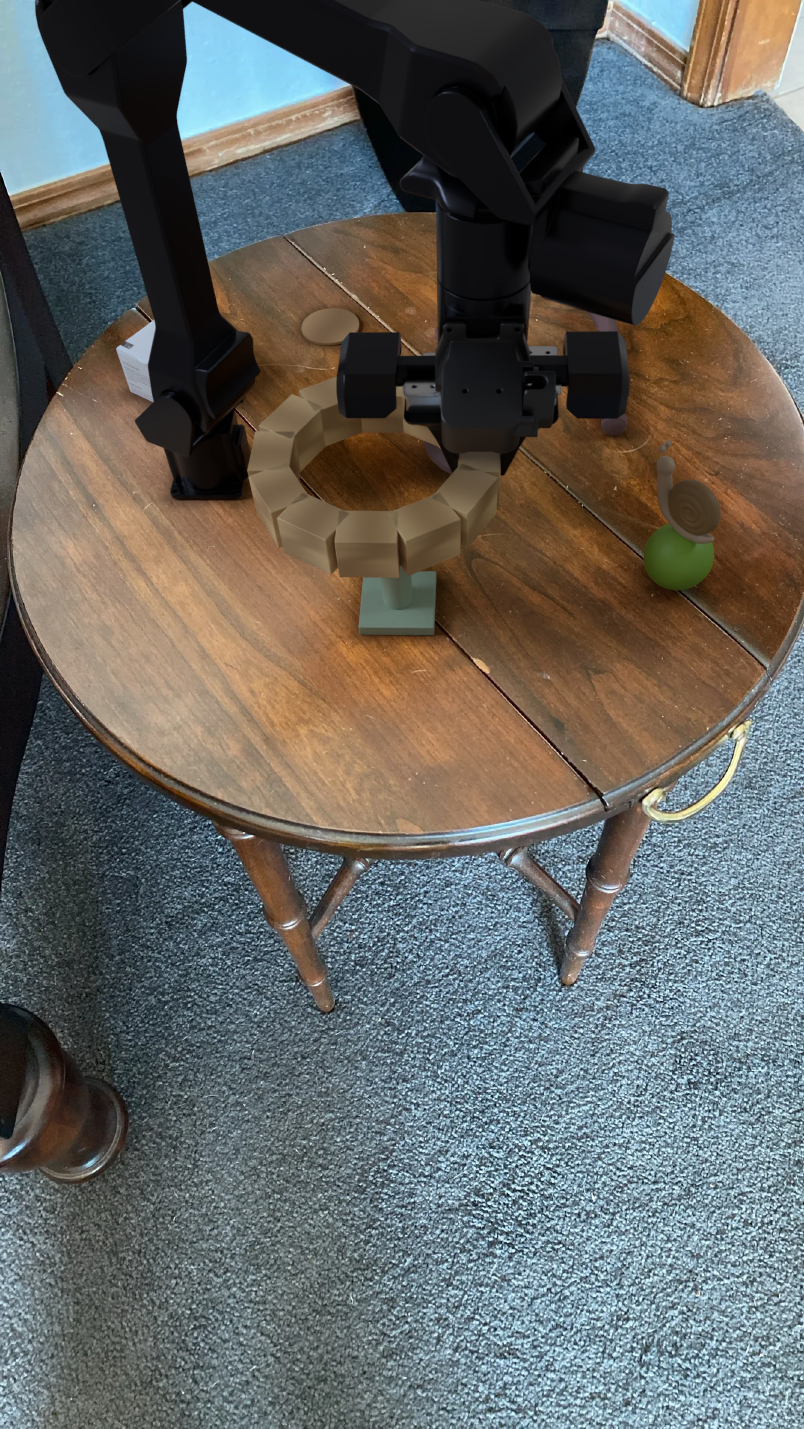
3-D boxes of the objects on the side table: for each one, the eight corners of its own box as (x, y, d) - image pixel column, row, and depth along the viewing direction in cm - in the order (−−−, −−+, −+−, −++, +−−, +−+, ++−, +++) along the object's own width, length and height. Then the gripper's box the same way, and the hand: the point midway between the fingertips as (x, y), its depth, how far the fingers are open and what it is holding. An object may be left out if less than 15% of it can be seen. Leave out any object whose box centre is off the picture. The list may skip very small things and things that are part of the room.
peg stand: (359, 635, 78) (351, 576, 72) (364, 578, 81) (357, 518, 75) (434, 635, 77) (432, 576, 72) (436, 579, 81) (434, 518, 75)
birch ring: (241, 576, 68) (232, 541, 65) (274, 407, 78) (267, 371, 75) (498, 579, 67) (501, 543, 64) (498, 407, 77) (500, 370, 74)
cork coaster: (298, 345, 99) (298, 343, 99) (305, 310, 103) (304, 308, 102) (357, 345, 99) (357, 342, 99) (361, 309, 102) (361, 307, 102)
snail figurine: (659, 538, 82) (686, 424, 72) (720, 579, 79) (757, 466, 69) (615, 571, 80) (637, 459, 70) (676, 615, 77) (708, 504, 67)
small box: (238, 376, 97) (228, 331, 93) (185, 420, 94) (172, 375, 89) (181, 350, 100) (169, 305, 95) (128, 392, 96) (112, 347, 92)
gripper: (315, 357, 54) (341, 552, 67) (655, 357, 53) (615, 555, 66) (334, 244, 60) (354, 442, 73) (638, 241, 59) (605, 443, 72)
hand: (478, 471), depth 71 cm, fingers closed on birch ring, 3 cm apart
